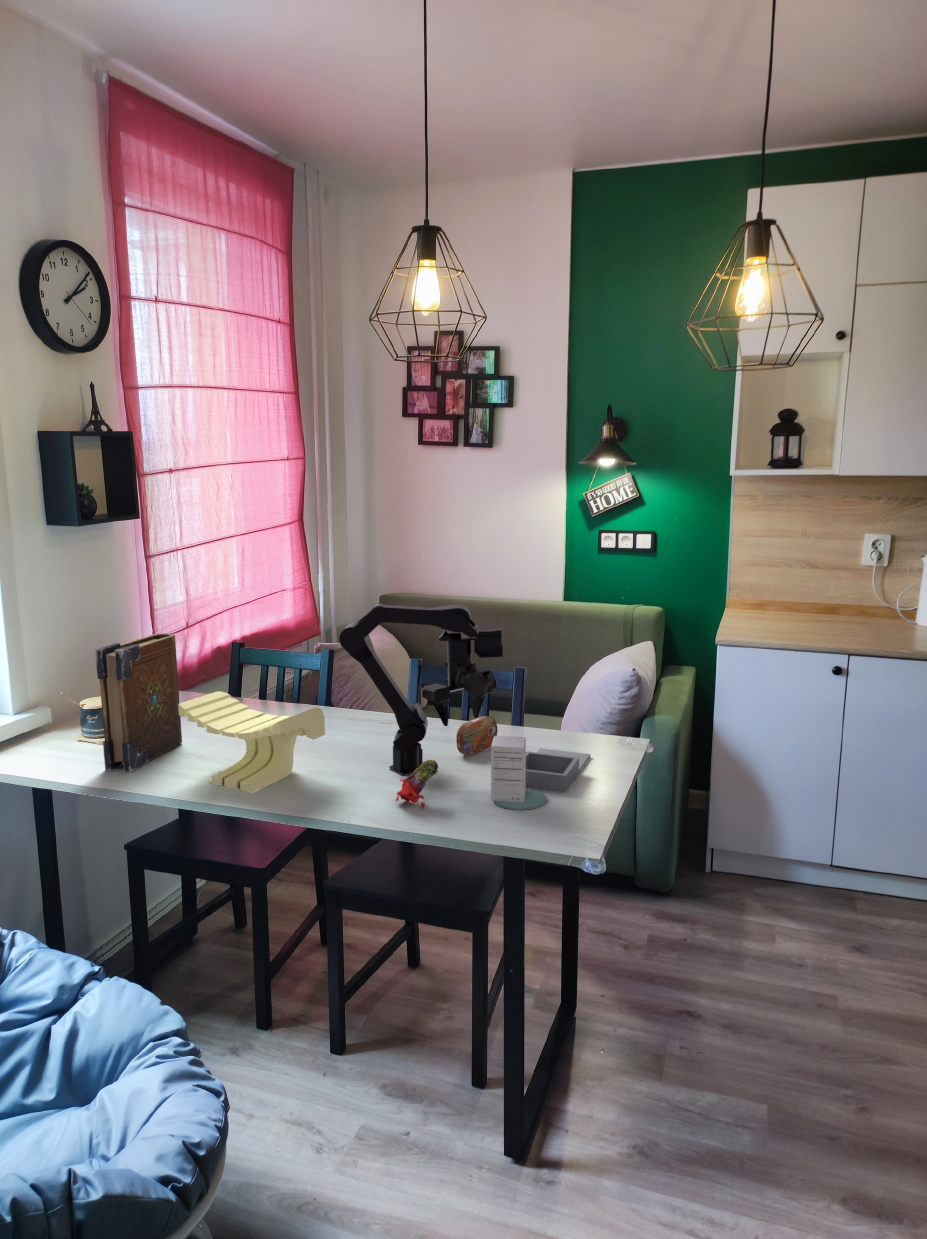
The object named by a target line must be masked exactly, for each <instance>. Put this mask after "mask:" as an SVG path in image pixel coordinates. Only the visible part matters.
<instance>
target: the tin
mask: <svg viewBox="0 0 927 1239" xmlns="http://www.w3.org/2000/svg"><path fill="white" fill-rule="evenodd" d="M494 736H498V724H497V721H496V720H495V718H494V717H493V716H483V715H482V716H478V718H474V719H471V720H469V721H467V722H465V723H462V724H461V725H460V727H459V728H458V730H457V732H456V737H455V738H456V741H455V742H456V749H457V750H458V752H459V753H460V754H461V755H466V756H468V757H473V756H475V755H477V754H479V753H482V752H484V751H486V750H489V749H491V745H492V741H493V738H494Z"/></svg>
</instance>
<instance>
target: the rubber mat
mask: <svg viewBox="0 0 927 1239" xmlns="http://www.w3.org/2000/svg"><path fill="white" fill-rule="evenodd" d="M547 800H548V798H547V795H546V794H545V793H544V792H542V791H540V790H539V789H533V788H526V791H525V798H524V802H506V801H492V802H493V804H494V805H496V806H498V807H500V808H503V809H507V810H514V811H530V810H534V809H539V808H540V807H543V806H545V805H546V803H547Z"/></svg>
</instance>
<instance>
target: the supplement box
mask: <svg viewBox="0 0 927 1239" xmlns="http://www.w3.org/2000/svg"><path fill="white" fill-rule="evenodd" d="M526 745H527V738H526V736H525V737H524V736H511V735H509V736H507V735H506V736H505V735H497V736H494V738H493V741H492V745H491V747H490V752H491V753H490V762H491V763H490V766H491V767H490V786H491V787H490V794H491V795H490V800H491V802H493V801H506V802H524V798H525V791H526V751H527V746H526Z"/></svg>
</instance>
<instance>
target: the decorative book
mask: <svg viewBox="0 0 927 1239" xmlns="http://www.w3.org/2000/svg"><path fill="white" fill-rule="evenodd" d="M176 644H177V642H176V635H175V634H173V633H154V634H150V635H146V636H143V637H139V638H136V639H134V640H130V641H127V642H123V643H118V642H113V643H110V644H107V645H103V646H101V647H97V648H95V649H94V650H95V663H96V665H95V666H96V676H97V679H98V680H99V686H100V687H99V688H100V702H101V712H102V723H103V724H102V725H103V736H104V741H102V747H103V758H104V760H103V761H104V770H105V771H108V772H110V771H111V772H112V771H114V770H116V769H118V768H120V767H122V766H123V772H124V773H128V774H131V773H132V772H134V771H136V770H138V769H141V768H142V767H144V766H146V765H148V764H149V761H151V760H153V759H155V758H156V757H158V756H160V755H162V754H165V753H166V752H167V751H170V750H172V749H173V748H175V747H177V746H179V745H181V744H182V743H183V736H182V719H181V716H179V707H178V704H179V703H180V690H179V689H180V688H179V676H178V675H179V674H178V673H179V672H178V661H177V646H176Z"/></svg>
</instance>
